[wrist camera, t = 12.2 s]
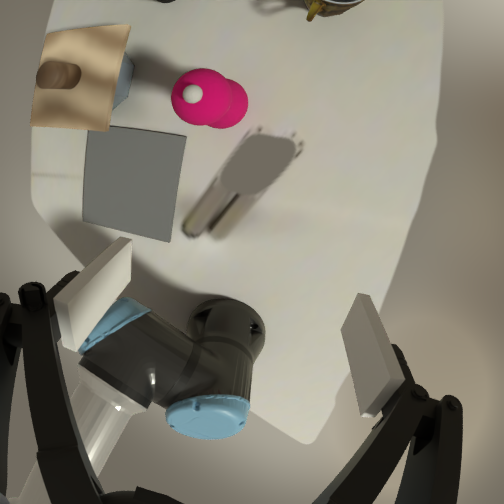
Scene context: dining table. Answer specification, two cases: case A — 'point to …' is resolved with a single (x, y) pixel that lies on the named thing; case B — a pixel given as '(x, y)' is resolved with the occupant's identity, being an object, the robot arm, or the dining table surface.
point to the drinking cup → (166, 1)
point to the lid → (79, 77)
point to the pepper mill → (209, 99)
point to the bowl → (123, 81)
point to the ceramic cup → (328, 7)
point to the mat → (132, 180)
